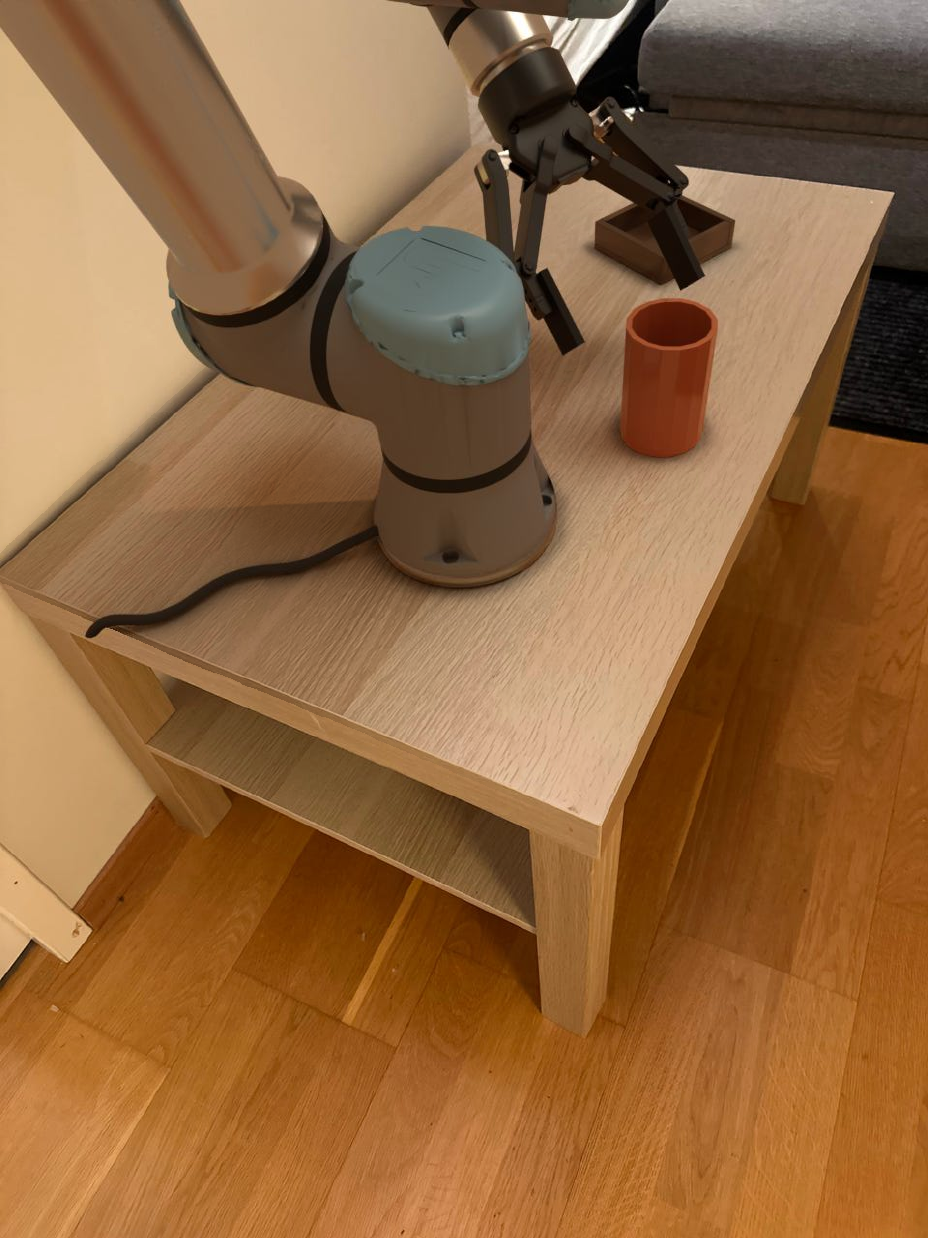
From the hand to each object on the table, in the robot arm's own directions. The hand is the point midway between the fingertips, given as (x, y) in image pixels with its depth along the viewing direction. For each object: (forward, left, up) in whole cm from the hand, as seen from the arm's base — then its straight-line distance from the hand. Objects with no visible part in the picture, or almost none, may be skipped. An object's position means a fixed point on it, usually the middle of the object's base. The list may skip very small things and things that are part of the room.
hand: (635, 315), depth 75 cm
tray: (+22, +18, -10) cm, 30 cm away
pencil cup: (0, -4, -10) cm, 11 cm away
